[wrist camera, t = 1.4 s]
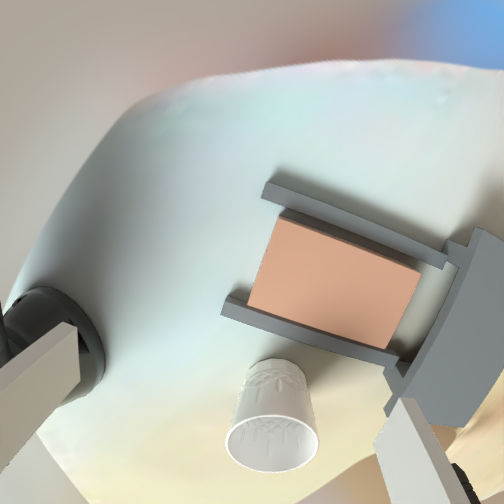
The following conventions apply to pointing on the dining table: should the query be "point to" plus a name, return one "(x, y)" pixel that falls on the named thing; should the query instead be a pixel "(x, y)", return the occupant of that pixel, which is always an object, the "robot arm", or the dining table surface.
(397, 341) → the dining table surface
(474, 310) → the overhang dock
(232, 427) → the white cup
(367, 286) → the salmon pink tile
